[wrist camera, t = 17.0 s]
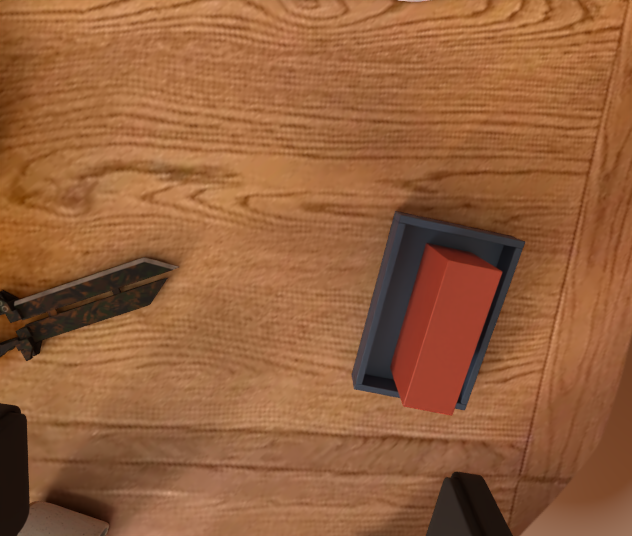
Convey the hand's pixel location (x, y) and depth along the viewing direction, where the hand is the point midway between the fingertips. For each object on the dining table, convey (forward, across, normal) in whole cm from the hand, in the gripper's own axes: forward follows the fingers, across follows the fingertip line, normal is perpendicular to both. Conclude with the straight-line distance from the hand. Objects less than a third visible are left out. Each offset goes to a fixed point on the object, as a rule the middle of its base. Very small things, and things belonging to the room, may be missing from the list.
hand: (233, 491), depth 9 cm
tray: (+26, -12, +4) cm, 29 cm away
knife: (+26, +21, +10) cm, 35 cm away
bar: (+26, -12, +4) cm, 29 cm away
